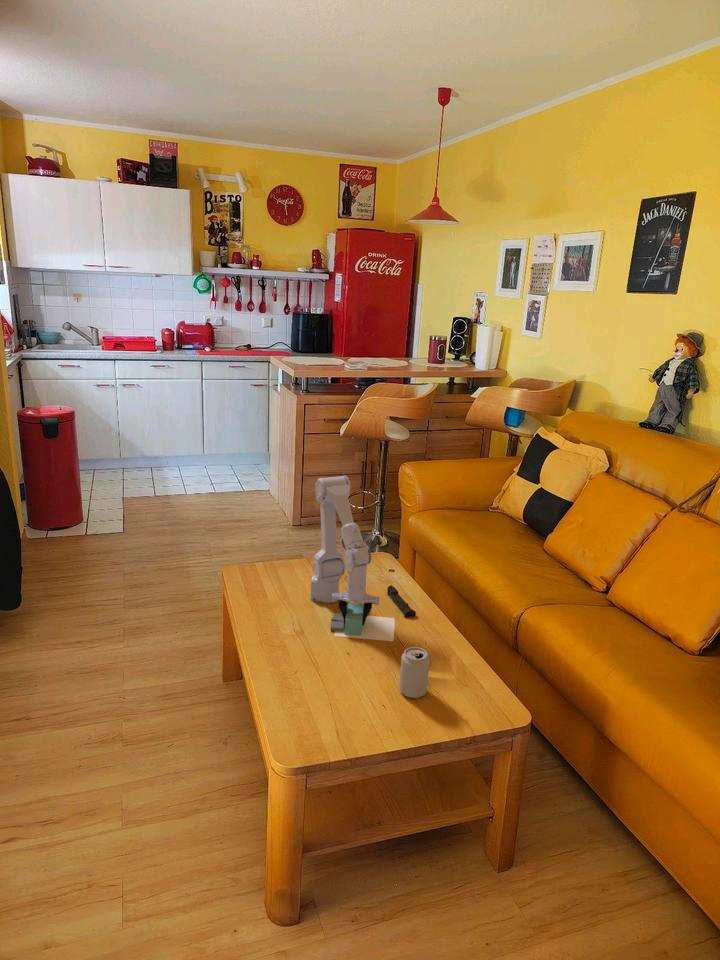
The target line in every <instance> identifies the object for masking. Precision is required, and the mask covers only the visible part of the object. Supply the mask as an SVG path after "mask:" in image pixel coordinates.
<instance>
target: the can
mask: <svg viewBox="0 0 720 960" xmlns="http://www.w3.org/2000/svg"><path fill="white" fill-rule="evenodd" d="M430 659H431V658H430V656H429V653H428V651H426V649H424V648H422V647H418V646H411V647H408V648H405V650H404V651H403V653H402V655H401V661H400V672H399V673H400V675H399V684H398V688H399V691H400V693H401V694H402V695H404V696H405V697H406V696H407V698H409V699H419V698H421V697H423V696H425V695H426V693H427V692H428V682H429V675H430V674H429V671H430V664H431V663H430V662H431V660H430Z"/></svg>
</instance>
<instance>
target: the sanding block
mask: <svg viewBox="0 0 720 960" xmlns="http://www.w3.org/2000/svg"><path fill="white" fill-rule="evenodd" d="M363 608H364V603H358V605H353V604H351V603H350V602H347V613H346V618H345V634H349V635H361V632H362V621H363Z"/></svg>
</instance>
